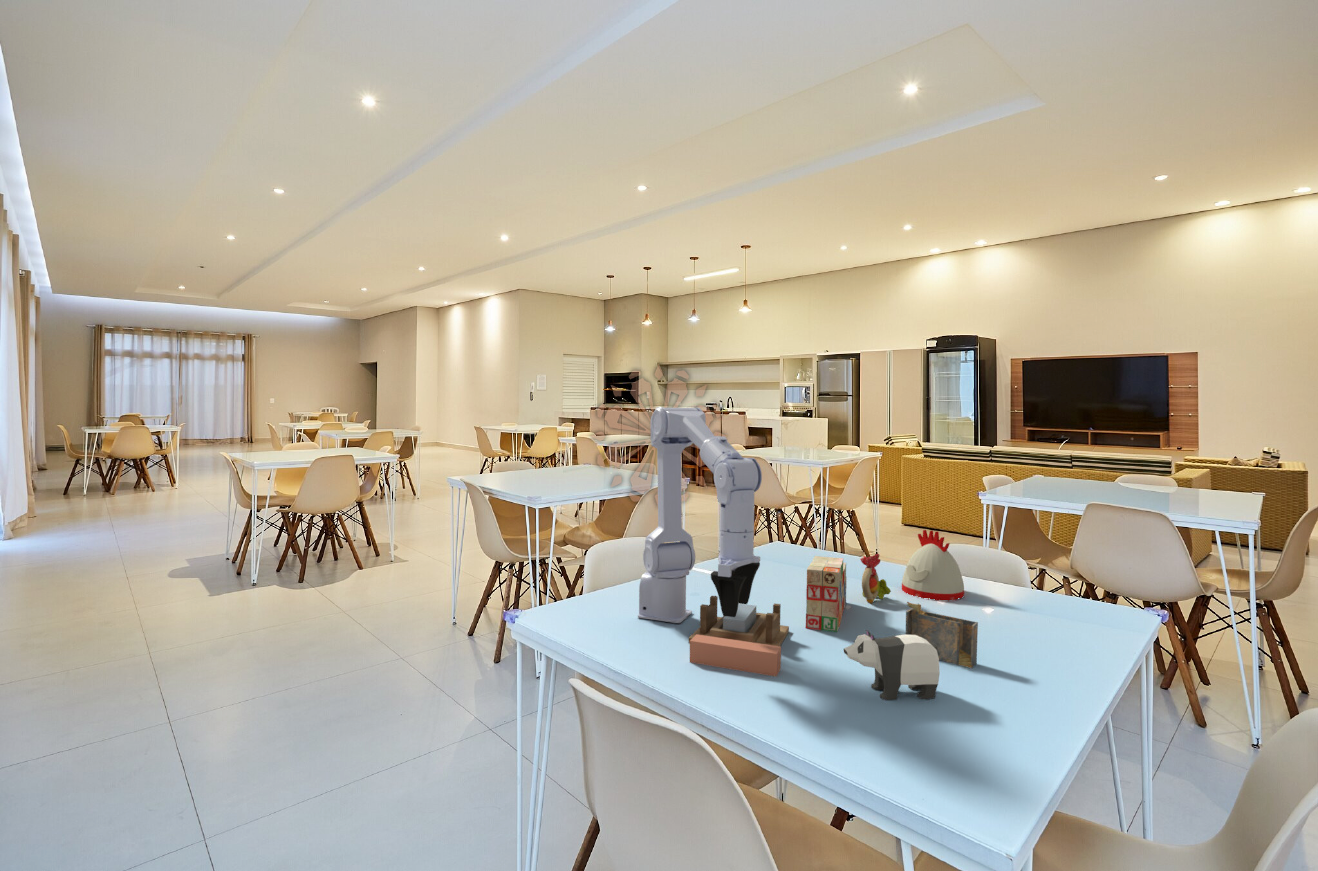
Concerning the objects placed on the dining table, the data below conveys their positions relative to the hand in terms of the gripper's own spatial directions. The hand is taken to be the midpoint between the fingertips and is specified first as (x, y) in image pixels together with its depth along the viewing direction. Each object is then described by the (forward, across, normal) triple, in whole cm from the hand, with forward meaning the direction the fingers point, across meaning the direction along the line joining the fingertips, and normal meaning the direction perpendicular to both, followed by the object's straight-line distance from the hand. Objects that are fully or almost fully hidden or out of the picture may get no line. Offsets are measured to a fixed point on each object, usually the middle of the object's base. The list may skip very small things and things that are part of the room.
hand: (735, 609), depth 108 cm
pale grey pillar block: (+8, +13, +3) cm, 16 cm away
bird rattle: (+10, +50, -19) cm, 54 cm away
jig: (+10, +13, +3) cm, 16 cm away
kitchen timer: (+10, +63, -32) cm, 71 cm away
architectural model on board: (+10, +18, -32) cm, 38 cm away
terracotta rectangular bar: (+10, 0, 0) cm, 10 cm away
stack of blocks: (+10, +34, -11) cm, 37 cm away
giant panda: (+10, 0, -26) cm, 27 cm away
